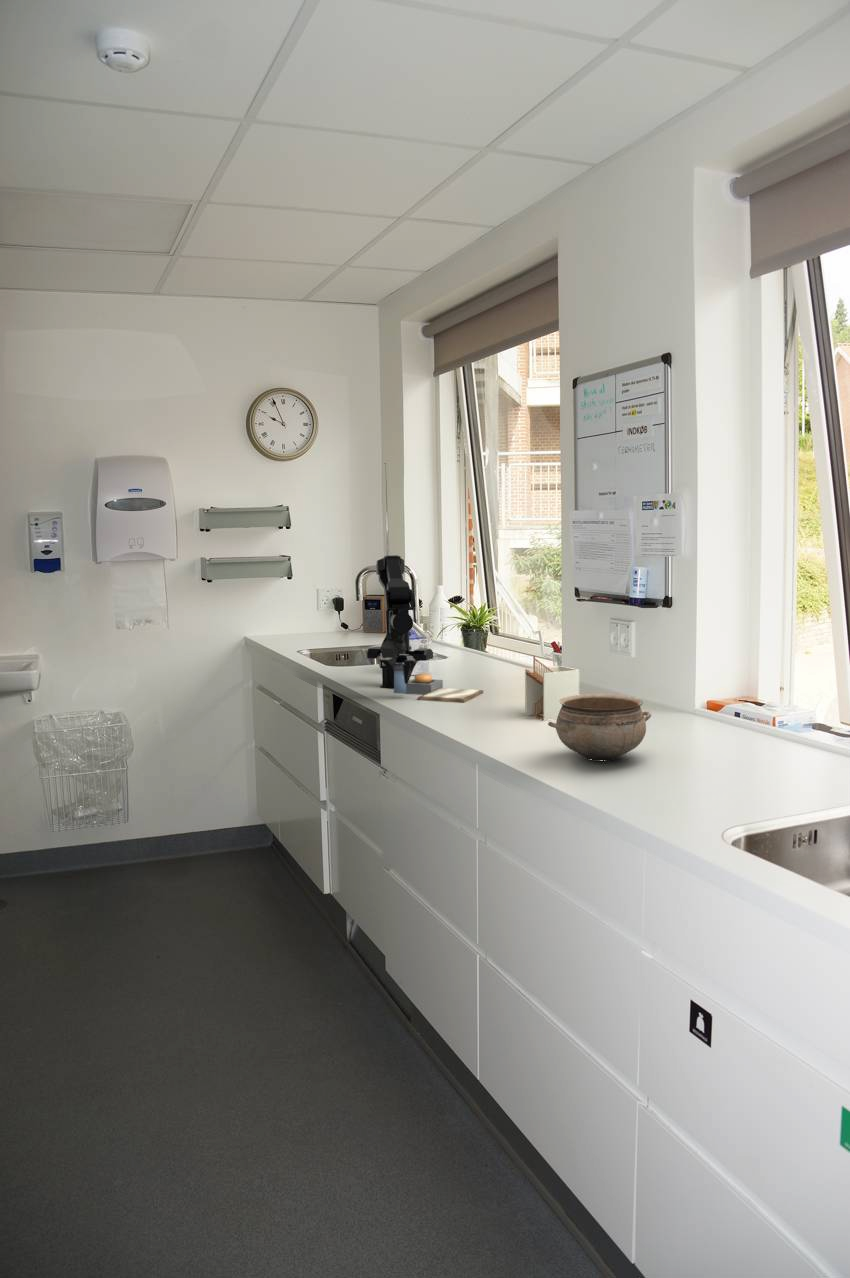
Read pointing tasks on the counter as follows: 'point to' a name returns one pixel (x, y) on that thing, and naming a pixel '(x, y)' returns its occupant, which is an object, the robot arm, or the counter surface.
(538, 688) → the model staircase
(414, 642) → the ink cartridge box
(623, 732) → the cooking pot
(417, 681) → the button
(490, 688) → the counter surface
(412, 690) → the button housing
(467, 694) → the board
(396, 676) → the blue tumbler
